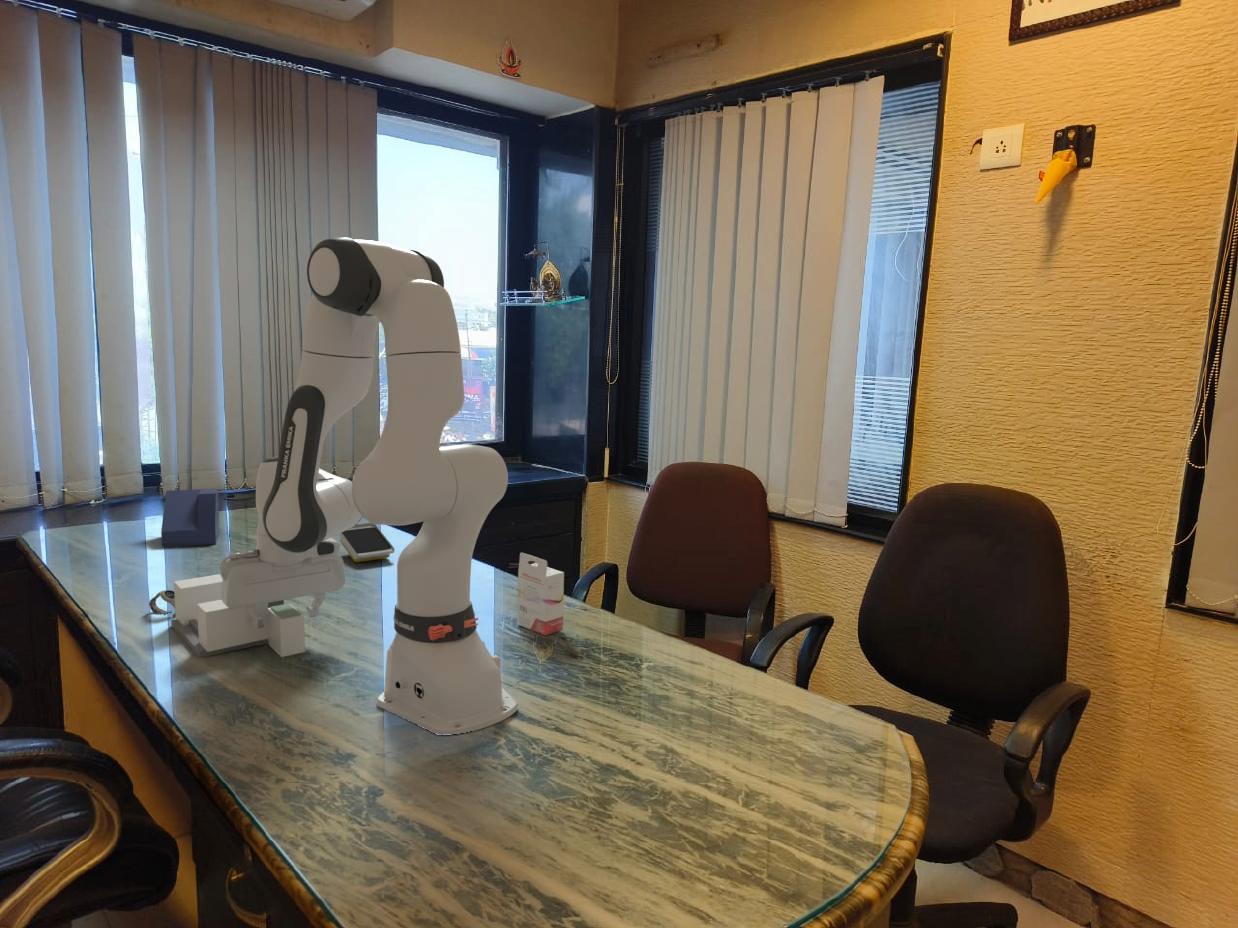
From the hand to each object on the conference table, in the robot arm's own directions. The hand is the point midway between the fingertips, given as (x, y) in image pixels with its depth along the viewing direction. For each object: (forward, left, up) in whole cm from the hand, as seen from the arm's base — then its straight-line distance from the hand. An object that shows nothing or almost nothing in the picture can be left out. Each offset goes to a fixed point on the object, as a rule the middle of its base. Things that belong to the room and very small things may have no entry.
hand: (285, 621), depth 139 cm
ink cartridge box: (-19, -42, -5) cm, 46 cm away
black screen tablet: (+53, -36, 0) cm, 64 cm away
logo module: (-1, 0, -5) cm, 5 cm away
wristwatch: (+29, +12, -5) cm, 32 cm away
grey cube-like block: (+21, -4, -5) cm, 22 cm away
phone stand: (+84, -6, -5) cm, 84 cm away
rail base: (+12, +7, -5) cm, 15 cm away
